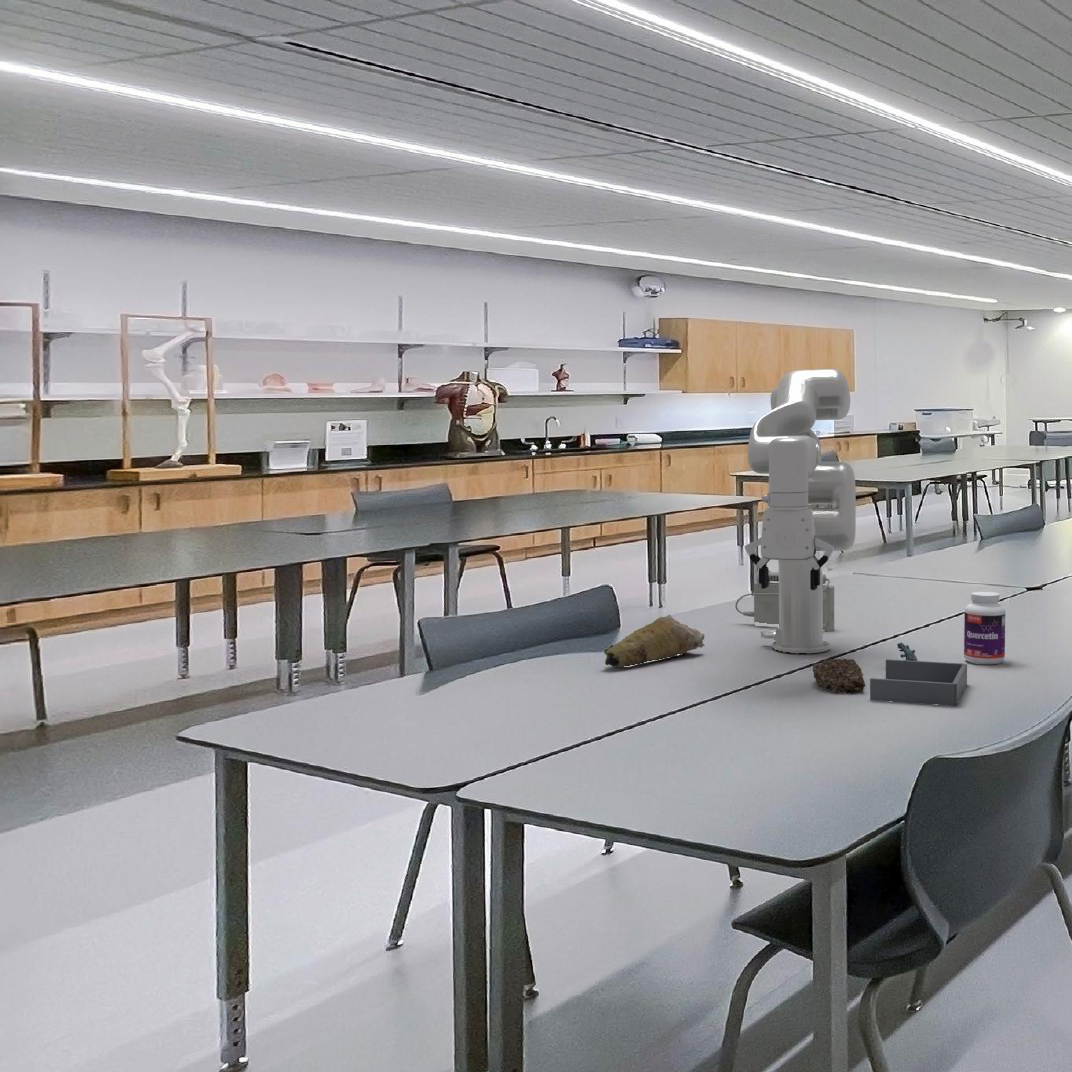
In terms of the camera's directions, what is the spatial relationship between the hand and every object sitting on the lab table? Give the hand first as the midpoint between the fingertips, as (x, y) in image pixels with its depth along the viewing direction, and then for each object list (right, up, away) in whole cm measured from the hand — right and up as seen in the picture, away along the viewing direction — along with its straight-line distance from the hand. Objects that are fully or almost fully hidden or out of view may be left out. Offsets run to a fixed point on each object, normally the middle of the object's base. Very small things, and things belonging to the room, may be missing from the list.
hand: (789, 588), depth 245 cm
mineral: (-25, -17, +27) cm, 40 cm away
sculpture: (+27, -18, +12) cm, 34 cm away
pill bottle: (+44, -16, +16) cm, 49 cm away
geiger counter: (+11, -12, +62) cm, 64 cm away
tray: (+23, -19, -9) cm, 31 cm away
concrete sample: (+9, -19, -3) cm, 22 cm away
